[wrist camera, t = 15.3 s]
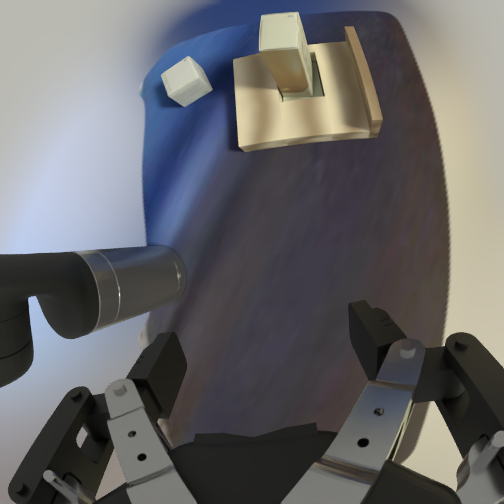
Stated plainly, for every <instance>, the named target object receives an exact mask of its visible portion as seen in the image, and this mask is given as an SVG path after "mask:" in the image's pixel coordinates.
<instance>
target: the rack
mask: <svg viewBox="0 0 504 504" xmlns="http://www.w3.org/2000/svg"><path fill="white" fill-rule="evenodd" d="M345 39H346V42H333V43H322V44H313V45H308V49H309V53H310V57H311V61H314V62H312V67H313V96H312V97H283V100H284V102H282V95H281V91H280V89H279V87H278V85H277V83H276V81H275V79H274V77H273V75H272V73H271V71H270V69H269V68H268V66H267V64H266V62H265V60H264V58H263V56H262V55H261V53H259V54H254V55H250V56H246V57H242V58H238V59H234V60H233V66H234V82H235V98H236V113H237V128H238V143H239V147H240V148H241V149H242V150H243V151H244V152H248V151H254V150H260V149H267V148H274V147H280V146H288V145H296V144H304V143H313V142H322V141H333V140H345V139H360V138H377V136H378V133H379V130H380V127H381V124H382V121H383V119H382V115H381V110H380V106H379V103H378V99H377V95H376V91H375V88H374V84H373V81H372V78H371V75H370V71H369V68H368V65H367V62H366V59H365V56H364V53H363V51H362V48H361V45H360V42H359V40H358V37H357V35H356V32H355V29H354V27H345ZM316 61H317V64H318V68H319V72H320V77H321V81H322V86H323V90H324V95H325V96H323V92H322V88H321V83H320V78H319V74H318V69H317V65H316Z"/></svg>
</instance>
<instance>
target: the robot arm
mask: <svg viewBox="0 0 504 504" xmlns="http://www.w3.org/2000/svg"><path fill="white" fill-rule="evenodd" d="M185 285H186V271H185V267H184V264H183V262H182V260H181V258H180V257H179V255H178V254H177V253H176V252H175V251H174V250H172V249H171V248H169V247H166V246H146V247H129V248H114V249H99V250H88V251H74V252H62V253H35V254H12V255H11V254H4V255H3V254H2V255H1V254H0V388H1V387H3V386H6V385H7V384H10V383H12V382H13V381H15V380H17V379H18V378H20V377H21V376H22V375H23V374H25V373H26V372H27V371H28V369H29V368H30V366H31V364H32V362H33V354H34V351H33V340H32V333H31V325H30V316H29V304H28V298H29V297H31V296H36V297H37V299H38V302H39V304H40V306H41V309H42V312H43V314H44V316H45V318H46V320H47V322H48V323H49V325H50V326H51V327H52V328H53V330H54V331H55V332H56V333H57V334H59V335H60V336H62V337H64V338H67V339H75V338H79V337H81V336H84V335H87V334H89V333H92V332H95V331H98V330H100V329H103V328H106V327H109V326H111V325H114V324H117V323H119V322H122V321H125V320H128V319H130V318H133V317H136V316H138V315H141V314H144V313H146V312H149V311H152V310H155V309H158V308H160V307H163V306H165V305H168V304H171V303H173V302H175V301H176V300H178V299H179V298H180V296H181V295H182V294H183V291H184V289H185ZM348 311H349V330H350V339H351V343H352V346H353V348H354V350H355V352H356V354H357V356H358V358H359V361H360V363H361V365H362V367H363V369H364V371H365V373H366V375H367V378H368V380H369V382H368V383H367V385H366V387H365V389H364V391H363V393H362V395H361V396H360V398H359V400H358V402H357V404H356V405H355V407H354V409H353V410H352V412H351V414H350V415H349V417H348V419H347V420H346V422H345V424H344V425H343V427H342V429H341V430H340V432H339V433H336V432H331V431H317V426H316V423H311V424H305V425H299V426H293V427H286V428H283V429H280V430H276V431H273V432H270V433H267V434H263V435H260V436H256V437H246V436H239V435H232V434H226V433H212V434H195V438H194V442H190V443H187V444H184V445H181V446H178V447H176V448H174V449H172V447H171V445H170V444H169V442H168V440H167V439H166V437H165V435H164V433H163V432H162V430H161V428H160V426H159V425H158V423H157V421H158V418H163V419H169V417H170V414H171V411H172V409H173V406H174V403H175V400H176V398H177V395H178V392H179V389H180V387H181V384H182V381H183V379H184V376H185V373H186V370H187V362H186V358H185V355H184V353H183V350H182V348H181V345H180V342H179V340H178V337H177V335H176V334H175V333H174V332H169V333H160V334H158V335H157V337H156V339H155V340H154V342H153V343H152V344H150V345H149V346H148V347H147V348H145V349H144V350H143V352H142V353H141V355H140V356H139V358H138V360H137V361H136V363H135V364H134V366H133V367H132V369H131V371H130V372H129V374H128V375H127V377H126V379H120V380H116V381H114V382H112V383H111V384H110V385H109V386H108V387H107V388H106V390H105V393H103V394H97V395H92V394H91V392H90V391H89V389H88V388H86V387H83V386H82V387H76V388H74V389H72V390H70V391H69V392H68V393H67V394H66V395H65V397H64V398H63V400H62V401H61V403H60V404H59V405H58V407H57V408H56V410H55V411H54V413H53V414H52V416H51V417H50V419H49V420H48V421H47V423H46V425H45V426H44V428H43V429H42V431H41V432H40V434H39V435H38V437H37V438H36V440H35V442H34V443H33V445H32V446H31V448H30V450H29V451H28V453H27V454H26V456H25V458H24V460H23V461H22V463H21V464H20V466H19V468H18V470H17V471H16V473H15V475H14V477H13V478H12V480H11V482H10V484H9V487H8V493H9V496H10V498H11V499H12V501H14V502H15V503H16V504H504V368H503V367H502V366H501V365H500V364H499V362H498V361H497V360H496V359H495V358H494V357H493V356H492V355H491V353H489V351H488V350H487V349H486V348H485V347H484V346H483V345H482V344H481V343H480V342H479V341H478V339H477V338H476V337H474V336H473V335H471V334H468V333H464V332H459V333H455V334H452V335H450V336H449V337H448V338H447V339H446V343H445V346H443V347H435V348H425V345H424V344H423V343H422V342H421V341H419V340H416V339H411V338H407V337H406V336H405V334H404V333H403V332H402V331H401V329H400V328H399V327H398V326H397V324H395V322H394V321H393V319H391V317H390V316H389V315H388V313H387V312H386V311H384V310H382V309H380V308H374V309H372V308H371V307H370V306H369V304H368V303H367V302H366V300H361V301H357V302H353V303H349V305H348ZM428 401H435V403H436V405H437V407H438V409H439V411H440V413H441V414H442V416H443V418H444V420H445V422H446V424H447V426H448V428H449V430H450V432H451V434H452V436H453V439H454V441H455V443H456V445H457V447H458V449H459V451H460V453H461V456H462V458H463V461H462V462H461V464H460V466H459V467H458V470H457V482H458V486H457V490H456V492H455V491H454V490H452V489H451V488H450V487H448V486H446V485H444V484H442V483H439V482H437V481H435V480H433V479H430V478H428V477H426V476H424V475H421V474H419V473H417V472H415V471H413V470H411V469H409V468H406V467H404V466H402V465H400V464H398V463H396V462H394V461H393V460H394V457H395V455H396V453H397V450H398V448H399V445H400V442H401V440H402V437H403V435H404V432H405V429H406V427H407V424H408V422H409V419H410V416H411V413H412V410H413V407H414V404H415V403H419V402H428ZM81 427H83V428H84V429H85V431H86V432H87V433H88V435H87V437H86V439H85V441H84V443H83V444H82V446H81V448H79V447H78V445H77V442H76V437H77V435H78V433H79V431H80V429H81ZM114 448H115V451H116V454H117V457H118V460H119V463H120V465H121V468H122V471H123V474H124V476H125V479H126V482H125V483H124V484H123V485H121V486H119V487H118V488H116V489H115V490H113V491H111V492H110V493H108V494H107V495H105V496H104V497H102V498H100V499H99V500H97V501H96V499H95V496H96V493H97V491H98V488H99V485H100V483H101V480H102V478H103V475H104V472H105V470H106V467H107V464H108V462H109V460H110V457H111V455H112V452H113V450H114Z"/></svg>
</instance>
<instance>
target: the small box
mask: <svg viewBox="0 0 504 504" xmlns="http://www.w3.org/2000/svg"><path fill="white" fill-rule="evenodd" d="M161 77H162V80H163V83H164V86H165V88H166V91H167V94H168V97H170V98H172V99H173V100H174V101H176V102H177V103H179V104H180V105H182V106H183V107H186V106H188V105H189V104H191V103H192V102H194V101H195V100H197V99H199V98H200V97H202V96H204V95H205V94H207V93H209V92H211V91H212V90H213V89H212V87H211V84H210V82H209V80H208V78H207V76H206V74H205V72H204V70H203V69H202V68H201V67H200V66H199V65H198V64H197V63H196V62H195V61H194V60H193V59H192V58H191V57H189V56H188V57H186V58H185V59H183V60H182V61H180V62H179V63H177V64H176V65H174V66H173V67H171V68H170V69H168V70H167V71H166V72H164V73H163V74H162V75H161Z"/></svg>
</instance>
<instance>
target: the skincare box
mask: <svg viewBox="0 0 504 504" xmlns="http://www.w3.org/2000/svg"><path fill="white" fill-rule="evenodd" d="M259 51H260V53H261V55H262V56H263V58H264V60H265V62H266V64H267V66H268V68H269V69H270V71H271V73H272V75H273V77H274V79H275V81H276V83H277V85H278V87H279V89H280V91H281V93H282V95H283V97H312V96H313V67H312V61H311V57H310V53H309V49H308V45H307V42H306V38H305V34H304V30H303V27H302V23H301V20H300V17H299V13H298V12H288V13H276V14H268V15H262V17H261V23H260V34H259Z"/></svg>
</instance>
